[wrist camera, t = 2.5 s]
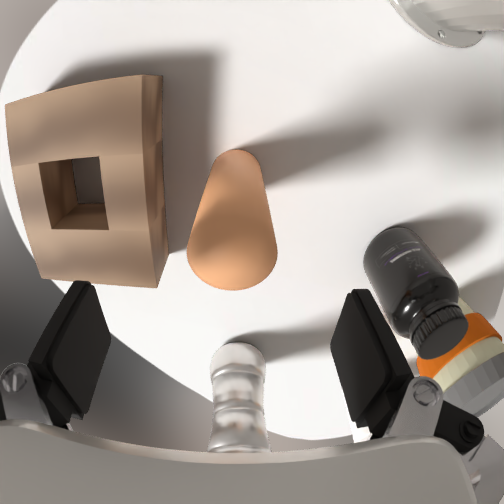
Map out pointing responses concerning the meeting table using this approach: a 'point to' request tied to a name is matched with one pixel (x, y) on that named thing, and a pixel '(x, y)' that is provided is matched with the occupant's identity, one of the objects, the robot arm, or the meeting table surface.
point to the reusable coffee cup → (470, 367)
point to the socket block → (112, 173)
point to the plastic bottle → (238, 400)
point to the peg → (233, 226)
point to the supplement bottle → (415, 292)
